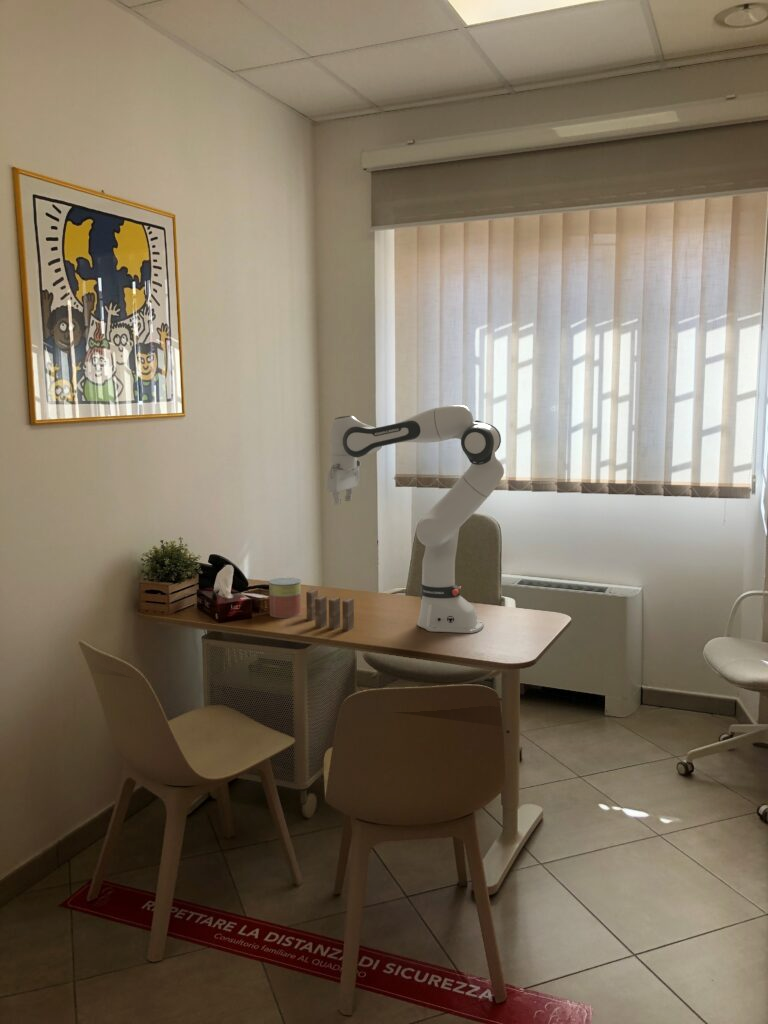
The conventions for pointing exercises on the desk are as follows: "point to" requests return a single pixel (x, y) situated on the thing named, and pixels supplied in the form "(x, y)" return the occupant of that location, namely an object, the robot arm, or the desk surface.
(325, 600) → the domino
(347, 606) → the domino
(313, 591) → the domino
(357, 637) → the desk surface
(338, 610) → the domino
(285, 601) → the canned food
